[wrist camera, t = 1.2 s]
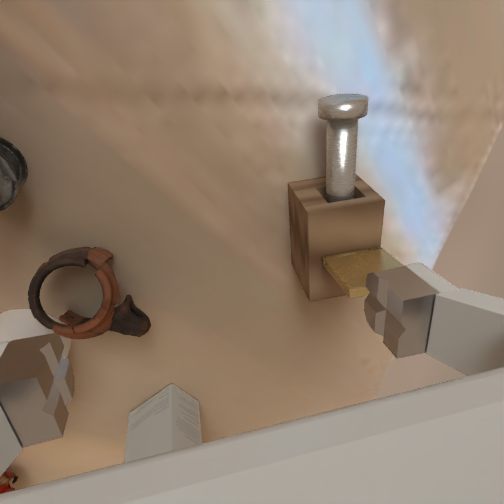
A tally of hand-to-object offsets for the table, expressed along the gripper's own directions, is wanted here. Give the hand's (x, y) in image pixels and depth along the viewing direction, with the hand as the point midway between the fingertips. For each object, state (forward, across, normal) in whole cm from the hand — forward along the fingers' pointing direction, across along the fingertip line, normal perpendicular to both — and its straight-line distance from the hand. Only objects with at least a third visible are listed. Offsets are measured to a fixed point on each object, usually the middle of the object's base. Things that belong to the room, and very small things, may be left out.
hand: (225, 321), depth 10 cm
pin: (+26, -14, +5) cm, 30 cm away
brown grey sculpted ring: (+31, +10, +14) cm, 35 cm away
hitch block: (+28, -14, +10) cm, 33 cm away
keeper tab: (+18, -14, +11) cm, 25 cm away
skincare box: (+33, +7, +36) cm, 49 cm away
